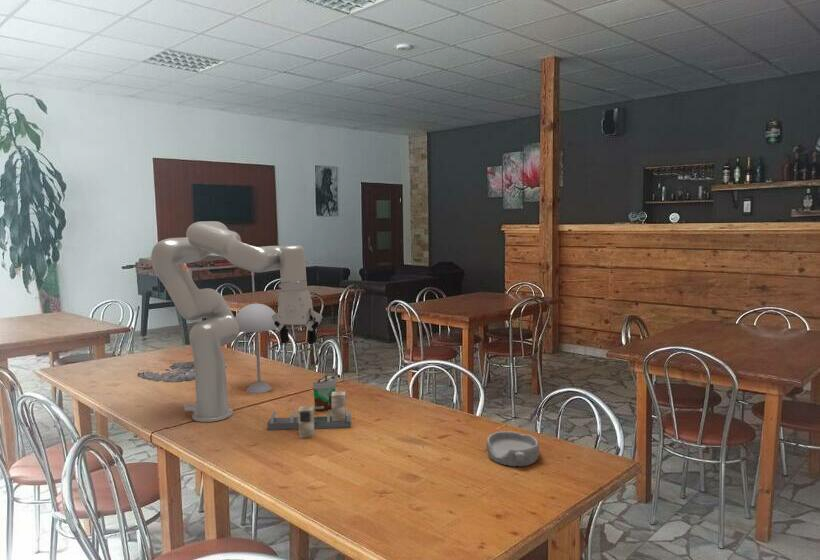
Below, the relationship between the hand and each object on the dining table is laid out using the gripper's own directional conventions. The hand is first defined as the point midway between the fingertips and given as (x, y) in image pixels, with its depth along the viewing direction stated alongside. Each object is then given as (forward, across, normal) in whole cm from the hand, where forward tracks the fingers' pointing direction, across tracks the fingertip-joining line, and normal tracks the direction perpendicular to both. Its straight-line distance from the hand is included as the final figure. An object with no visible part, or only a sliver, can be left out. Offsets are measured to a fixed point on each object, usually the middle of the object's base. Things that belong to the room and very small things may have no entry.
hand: (298, 342), depth 181 cm
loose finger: (+26, +4, -6) cm, 27 cm away
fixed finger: (+24, +9, +5) cm, 27 cm away
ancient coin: (+23, -86, +40) cm, 98 cm away
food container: (+26, -3, +19) cm, 33 cm away
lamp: (+25, -38, +28) cm, 53 cm away
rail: (+26, +1, +1) cm, 26 cm away
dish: (+29, +64, 0) cm, 71 cm away
